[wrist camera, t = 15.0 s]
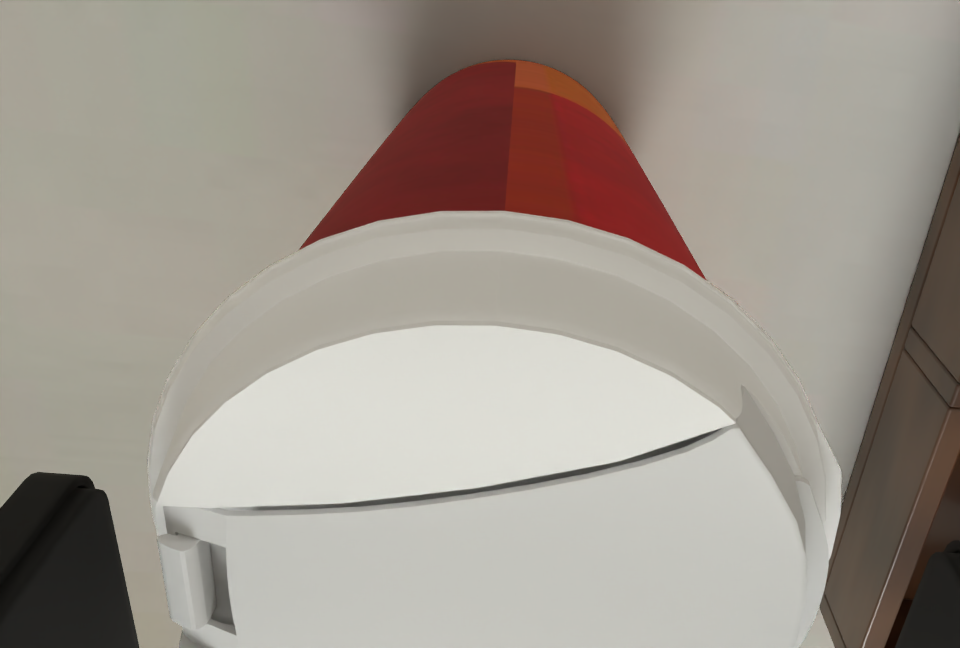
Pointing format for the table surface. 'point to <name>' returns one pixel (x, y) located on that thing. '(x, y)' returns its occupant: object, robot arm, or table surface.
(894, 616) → the organizer
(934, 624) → the robot arm
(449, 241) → the coffee cup
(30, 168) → the table surface
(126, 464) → the table surface
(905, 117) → the table surface
